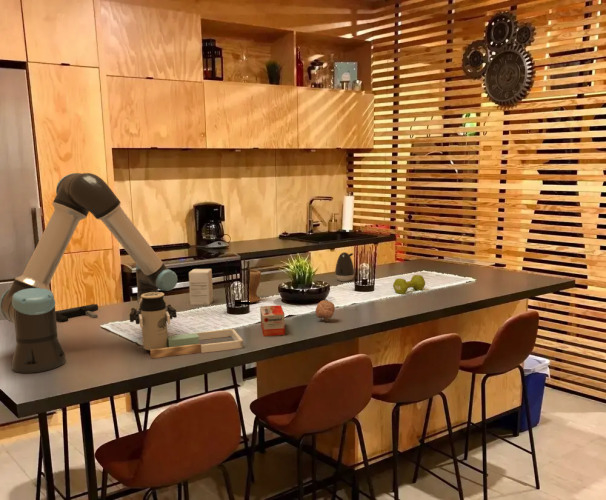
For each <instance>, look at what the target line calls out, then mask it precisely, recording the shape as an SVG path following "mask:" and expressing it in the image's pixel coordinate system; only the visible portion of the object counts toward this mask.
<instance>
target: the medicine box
mask: <svg viewBox="0 0 606 500" xmlns="http://www.w3.org/2000/svg"><path fill="white" fill-rule="evenodd" d="M259 308H260V314H259V315H260V328H261V332H262V336H263V337H273V336H274V337H275V336H285V335H286V326H285V323H286V322H285V313H284V312H285V311H284V310H283V307H282V305H264V306H263V305H261V306H260V307H259Z"/></svg>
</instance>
